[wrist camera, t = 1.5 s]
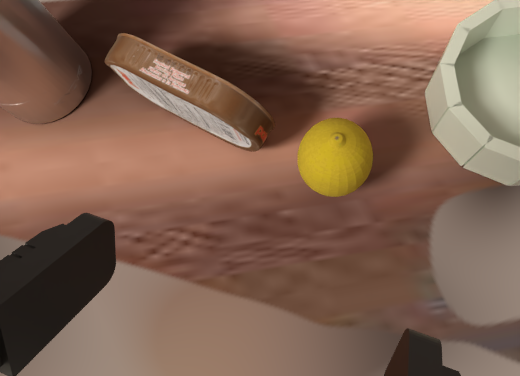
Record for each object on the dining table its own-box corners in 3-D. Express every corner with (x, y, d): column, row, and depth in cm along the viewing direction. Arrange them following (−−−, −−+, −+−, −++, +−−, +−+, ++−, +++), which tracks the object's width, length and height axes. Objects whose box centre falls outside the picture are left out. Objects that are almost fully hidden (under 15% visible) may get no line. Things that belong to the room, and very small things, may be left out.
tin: (280, 139, 37) (271, 92, 29) (262, 169, 36) (247, 129, 28) (146, 70, 40) (104, 12, 32) (127, 97, 40) (80, 44, 32)
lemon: (349, 134, 36) (359, 88, 28) (377, 192, 34) (395, 159, 27) (289, 158, 36) (283, 117, 28) (313, 216, 34) (314, 190, 27)
